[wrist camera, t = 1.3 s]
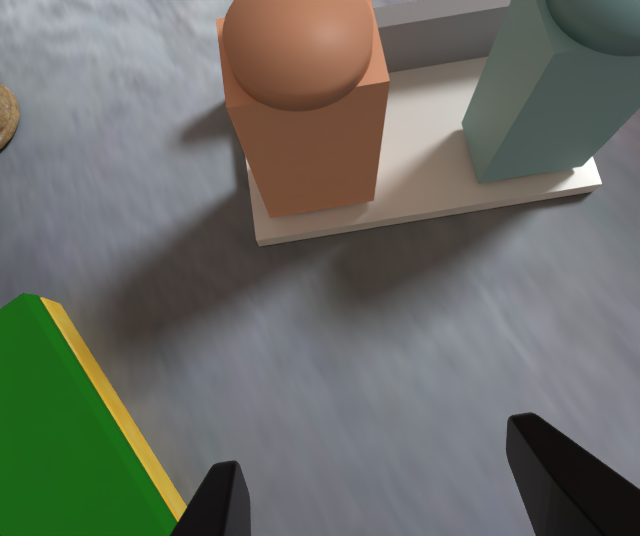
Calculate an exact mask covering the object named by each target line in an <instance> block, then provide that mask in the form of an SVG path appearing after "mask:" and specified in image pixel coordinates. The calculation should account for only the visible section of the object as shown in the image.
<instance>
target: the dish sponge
mask: <svg viewBox="0 0 640 536" xmlns="http://www.w3.org/2000/svg"><path fill="white" fill-rule="evenodd" d="M186 508H187V506H186V505H185V503H184V502H183V500H182V498H181V497H180V495H179V493H178V492H177V490H176V489H175V487H174V485H173V484H172V482H171V481H170V479H169V477H168V476H167V474H166V473H165V471H164V469H163V468H162V466H161V465H160V463H159V461H158V460H157V458H156V457H155V455H154V453H153V452H152V450H151V449H150V447H149V445H148V444H147V442H146V441H145V439H144V437H143V436H142V434H141V432H140V431H139V429H138V428H137V426H136V424H135V423H134V421H133V420H132V418H131V416H130V415H129V413H128V412H127V410H126V408H125V407H124V405H123V404H122V402H121V400H120V399H119V397H118V396H117V394H116V392H115V391H114V389H113V388H112V386H111V384H110V383H109V381H108V380H107V378H106V376H105V375H104V373H103V372H102V370H101V368H100V367H99V365H98V363H97V362H96V360H95V359H94V357H93V355H92V354H91V352H90V351H89V349H88V347H87V346H86V344H85V343H84V341H83V339H82V338H81V336H80V335H79V333H78V331H77V330H76V328H75V327H74V325H73V323H72V322H71V320H70V319H69V317H68V315H67V314H66V312H65V311H64V309H63V307H62V306H61V304H59V303H56V302H54V301H51V300H48V299H45V298H41V297H39V296H37V295H34V294H26V293H22V294H21V295H20V296H18V297H17V298H15V299H14V300H12V301H11V302H10V303H8V304H7V305H5V306H4V307H2V308H1V309H0V536H170V534H171V532H172V531H173V529H174V527H175V526H176V524H177V523H178V521H179V519H180V518H181V516H182V514H183V513H184V511H185V509H186Z"/></svg>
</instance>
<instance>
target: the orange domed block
mask: <svg viewBox="0 0 640 536" xmlns="http://www.w3.org/2000/svg"><path fill="white" fill-rule="evenodd" d="M216 25H217V33H218V42H219V50H220V59H221V67H222V76H223V84H224V93H225V101H226V109H227V111H228V114H229V116H230V119H231V121H232V124H233V126H234V129H235V131H236V134H237V136H238V139H239V141H240V144H241V146H242V149H243V151H244V154H245V156H246V159H247V162H248V164H249V167H250V169H251V172H252V174H253V177H254V179H255V182H256V184H257V187H258V189H259V192H260V194H261V197H262V199H263V202H264V204H265V207H266V209H267V212H268V214H269V217H270V218H274V217H280V216H286V215H292V214H298V213H304V212H310V211H316V210H322V209H328V208H334V207H340V206H346V205H352V204H359V203H365V202H371V201H374V196H375V189H376V181H377V174H378V166H379V159H380V151H381V144H382V137H383V129H384V122H385V114H386V107H387V99H388V92H389V85H390V79H389V75H388V70H387V66H386V62H385V57H384V53H383V49H382V44H381V40H380V36H379V31H378V27H377V23H376V18H375V14H374V10H373V5H372V1H371V0H234V1H233V3H232V4H231V6H230V8H229V10H228V12H227V14H226V17H225V18H220V19H216Z"/></svg>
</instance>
